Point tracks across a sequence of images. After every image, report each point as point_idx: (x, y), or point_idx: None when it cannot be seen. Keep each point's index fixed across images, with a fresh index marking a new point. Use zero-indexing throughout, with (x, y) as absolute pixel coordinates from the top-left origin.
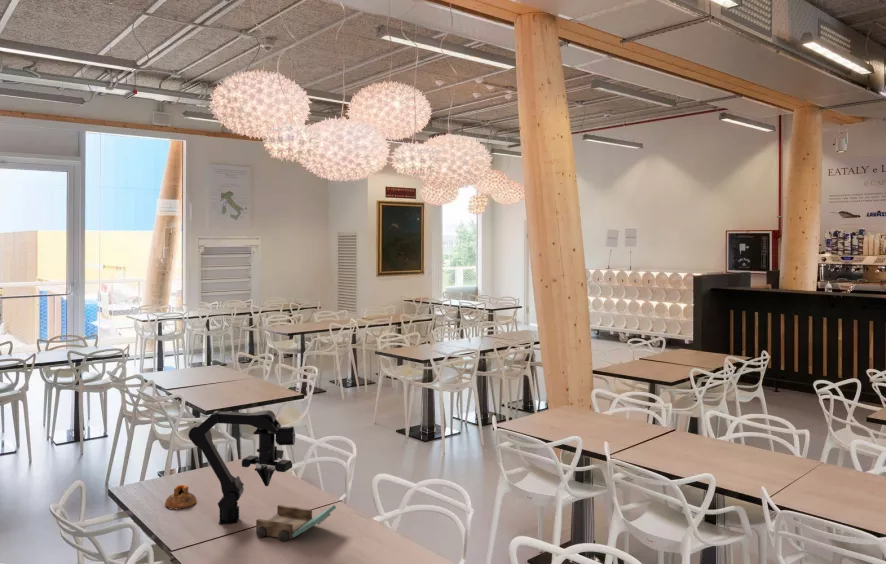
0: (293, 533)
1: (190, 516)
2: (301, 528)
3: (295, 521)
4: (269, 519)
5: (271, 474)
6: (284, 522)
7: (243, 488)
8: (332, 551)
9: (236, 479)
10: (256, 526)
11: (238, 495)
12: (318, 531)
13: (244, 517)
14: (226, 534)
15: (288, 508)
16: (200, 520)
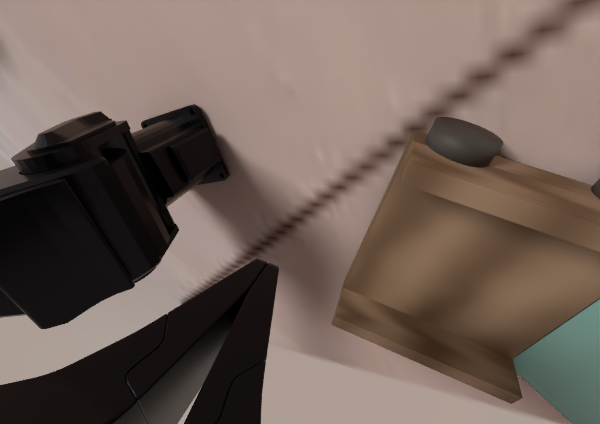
0: (517, 371)
1: (55, 114)
2: (570, 411)
3: (536, 269)
4: (373, 229)
5: (249, 421)
6: (464, 270)
7: (94, 168)
8: None
9: (14, 297)
10: (338, 302)
11: (152, 267)
12: None
13: (230, 114)
14: (246, 255)
15: (496, 212)
16: None
